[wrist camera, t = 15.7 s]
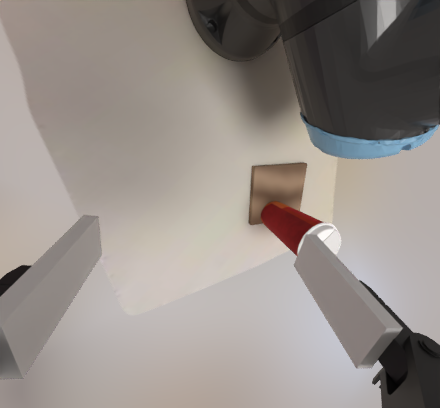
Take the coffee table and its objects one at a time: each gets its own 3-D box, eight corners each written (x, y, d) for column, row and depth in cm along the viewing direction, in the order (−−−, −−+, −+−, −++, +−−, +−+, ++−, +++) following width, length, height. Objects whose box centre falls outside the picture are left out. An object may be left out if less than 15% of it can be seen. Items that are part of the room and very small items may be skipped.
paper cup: (260, 235, 45) (306, 278, 32) (252, 206, 41) (300, 241, 29) (290, 220, 46) (345, 255, 34) (285, 189, 43) (344, 217, 30)
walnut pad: (252, 166, 39) (254, 167, 38) (303, 162, 43) (307, 163, 42) (248, 223, 44) (250, 225, 43) (295, 215, 47) (298, 217, 47)
